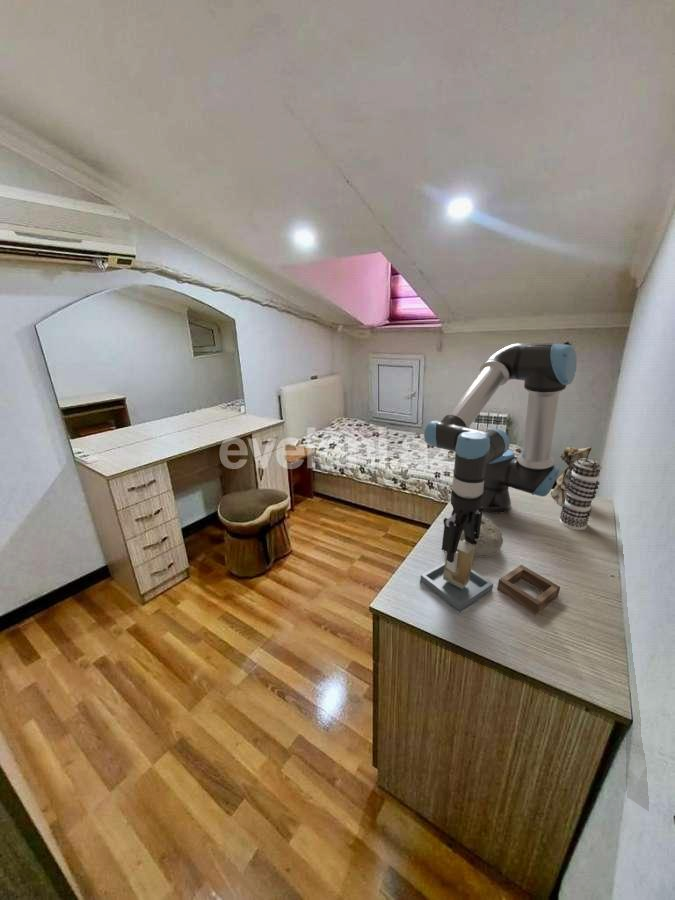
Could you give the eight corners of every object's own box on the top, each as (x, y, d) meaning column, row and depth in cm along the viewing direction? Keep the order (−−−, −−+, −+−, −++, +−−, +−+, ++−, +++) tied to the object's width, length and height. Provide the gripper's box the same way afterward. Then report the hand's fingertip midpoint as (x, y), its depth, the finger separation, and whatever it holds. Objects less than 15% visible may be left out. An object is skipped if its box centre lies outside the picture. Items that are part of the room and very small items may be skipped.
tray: (452, 563, 109) (453, 557, 108) (492, 590, 98) (493, 583, 97) (420, 581, 102) (420, 574, 101) (459, 612, 91) (460, 605, 90)
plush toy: (583, 513, 133) (598, 449, 128) (543, 503, 142) (556, 442, 137) (588, 507, 143) (603, 447, 138) (550, 497, 152) (563, 441, 147)
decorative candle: (552, 516, 133) (566, 455, 124) (577, 516, 133) (593, 455, 124) (566, 530, 124) (582, 466, 116) (593, 530, 124) (611, 465, 115)
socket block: (519, 574, 104) (521, 564, 103) (557, 597, 96) (560, 586, 94) (497, 589, 99) (498, 579, 97) (535, 615, 90) (538, 604, 89)
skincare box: (442, 579, 100) (445, 543, 96) (449, 571, 103) (453, 536, 99) (463, 590, 96) (468, 553, 92) (470, 581, 99) (475, 546, 95)
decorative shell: (505, 542, 119) (509, 516, 115) (494, 572, 105) (498, 544, 102) (453, 526, 129) (455, 502, 125) (436, 552, 115) (438, 526, 111)
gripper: (476, 477, 97) (467, 547, 105) (431, 496, 88) (425, 570, 96) (501, 487, 91) (490, 560, 99) (455, 508, 82) (446, 586, 90)
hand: (458, 565), depth 98 cm, fingers closed on skincare box, 5 cm apart
